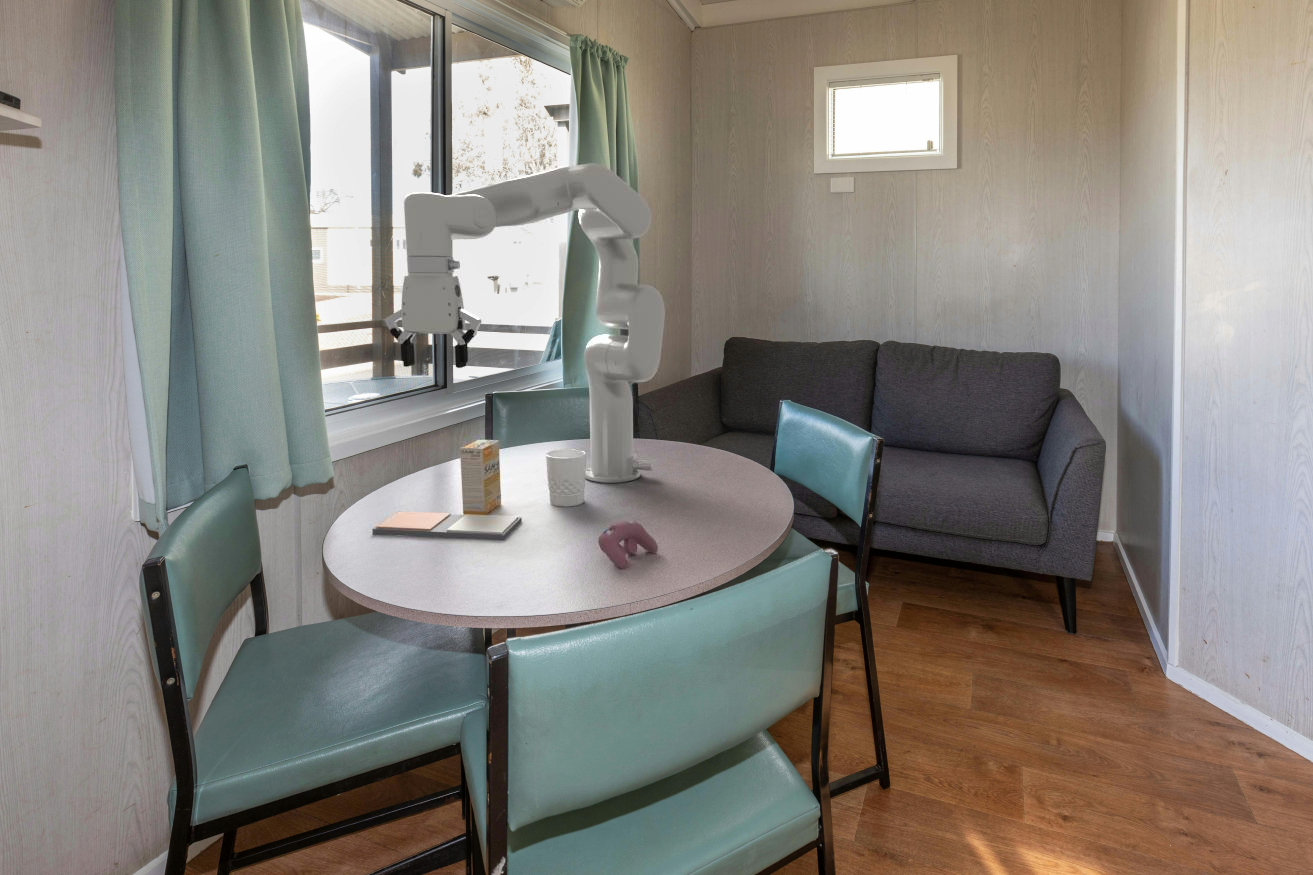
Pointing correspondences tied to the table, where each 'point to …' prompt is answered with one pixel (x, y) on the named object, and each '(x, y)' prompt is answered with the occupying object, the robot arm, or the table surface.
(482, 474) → the supplement box
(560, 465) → the white cup
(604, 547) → the video game controller
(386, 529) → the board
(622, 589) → the table surface
